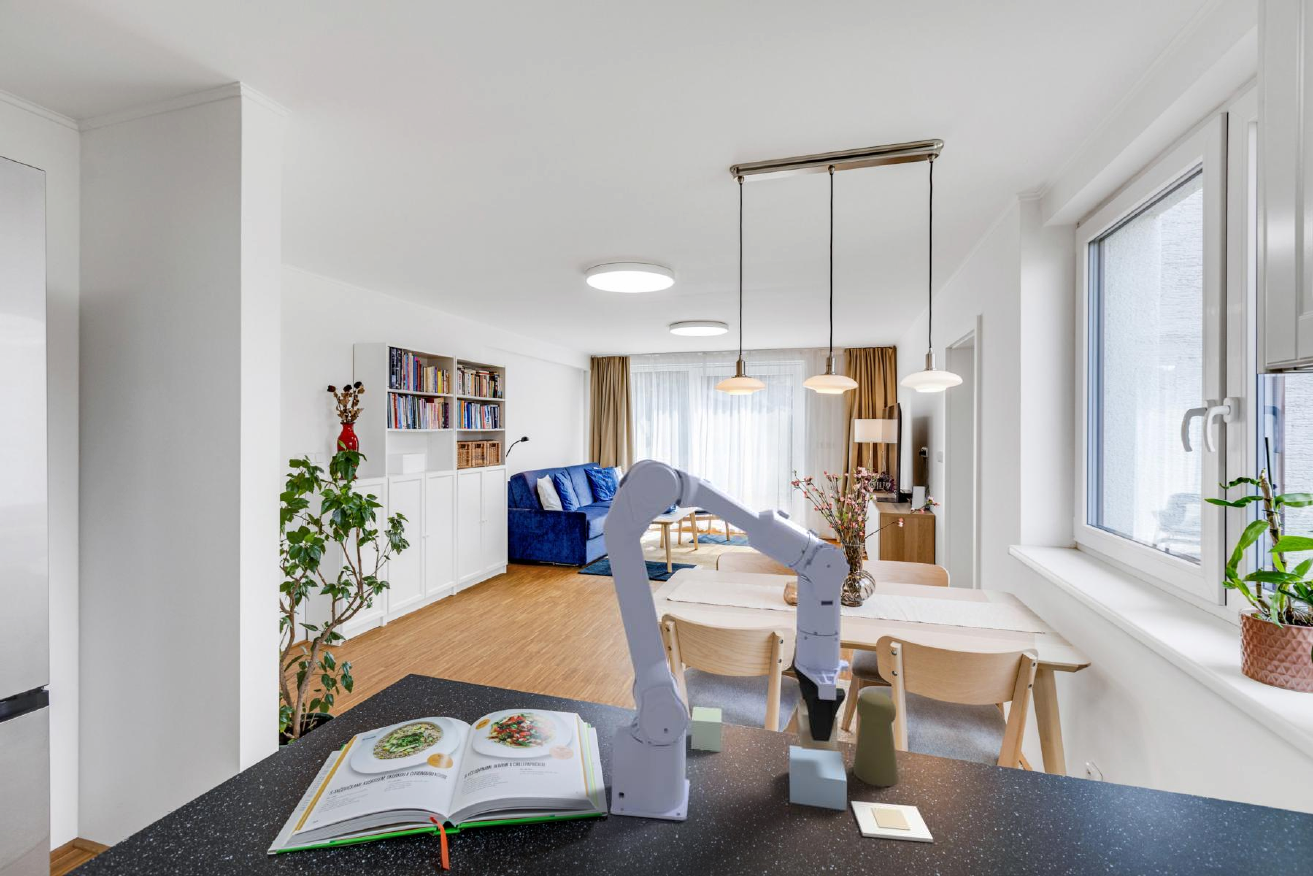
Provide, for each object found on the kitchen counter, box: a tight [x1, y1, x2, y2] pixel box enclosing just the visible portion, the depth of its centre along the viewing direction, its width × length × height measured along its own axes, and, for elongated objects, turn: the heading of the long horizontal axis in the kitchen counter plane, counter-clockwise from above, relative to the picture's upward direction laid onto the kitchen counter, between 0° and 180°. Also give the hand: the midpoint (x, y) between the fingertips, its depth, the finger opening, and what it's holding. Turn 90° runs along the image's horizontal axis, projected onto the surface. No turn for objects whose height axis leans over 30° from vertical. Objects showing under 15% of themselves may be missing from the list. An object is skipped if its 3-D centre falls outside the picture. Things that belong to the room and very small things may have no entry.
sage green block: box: [690, 706, 723, 753], centre depth 88 cm, size 4×4×4 cm
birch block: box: [796, 698, 839, 751], centre depth 76 cm, size 4×4×4 cm
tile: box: [850, 800, 934, 843], centre depth 70 cm, size 8×6×1 cm
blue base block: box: [788, 745, 848, 811], centre depth 76 cm, size 7×7×4 cm
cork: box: [852, 691, 900, 788], centre depth 80 cm, size 6×6×11 cm
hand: (817, 729), depth 76 cm, fingers closed on birch block, 4 cm apart
